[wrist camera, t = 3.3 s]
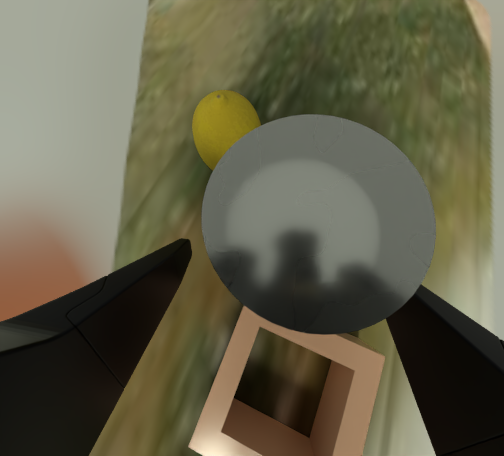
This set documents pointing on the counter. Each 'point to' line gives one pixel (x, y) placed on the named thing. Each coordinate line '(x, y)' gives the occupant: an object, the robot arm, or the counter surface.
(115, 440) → the counter surface
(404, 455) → the counter surface
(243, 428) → the terracotta collar
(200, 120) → the lemon
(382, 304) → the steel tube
